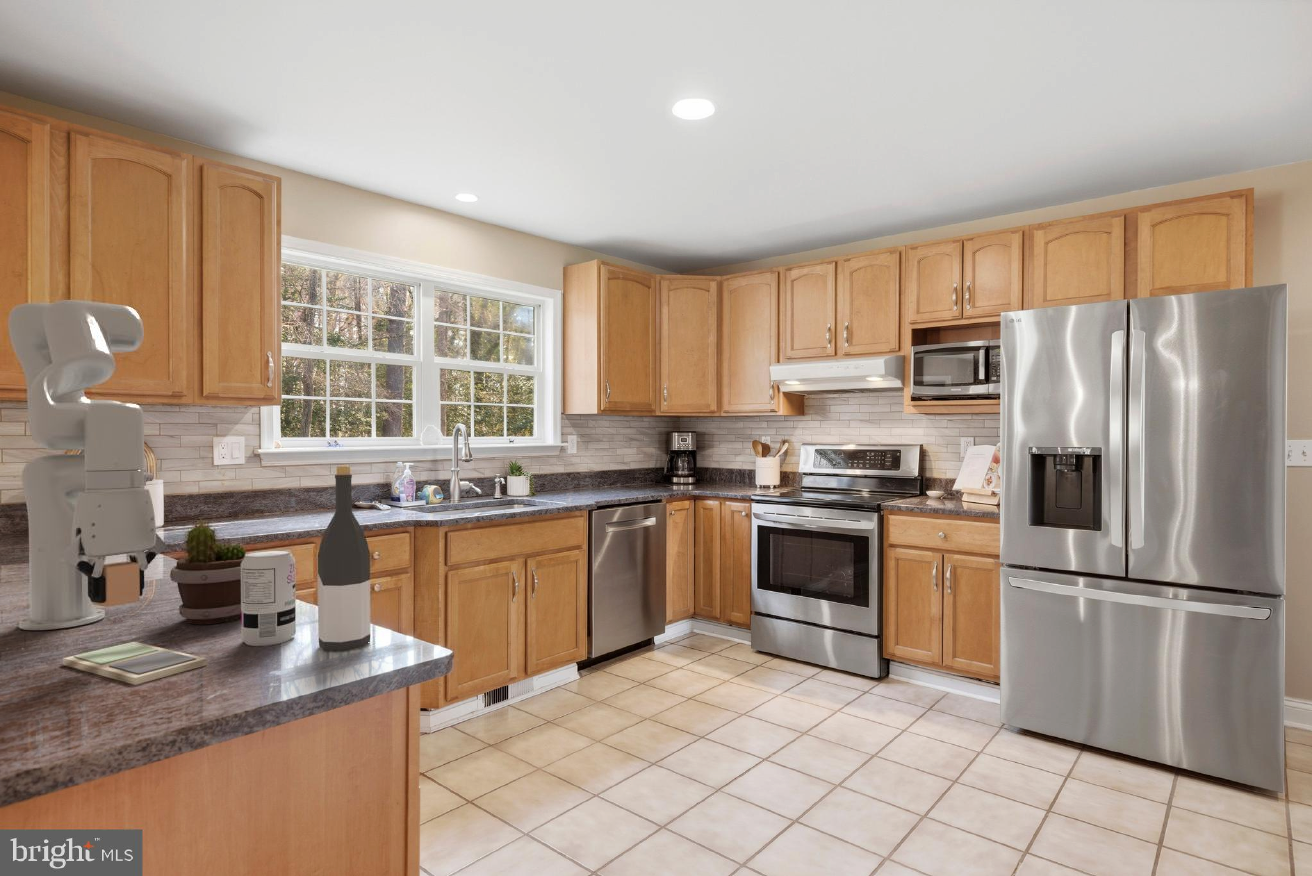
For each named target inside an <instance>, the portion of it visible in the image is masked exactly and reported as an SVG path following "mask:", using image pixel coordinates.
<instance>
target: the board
mask: <svg viewBox="0 0 1312 876" xmlns="http://www.w3.org/2000/svg"><path fill="white" fill-rule="evenodd" d="M207 660H208V659H207V658H206V657H202V656H198V655H197V656H196V655H195V654H194V655H193V654H190V653H189V654H188V653H186V652H181V651H177V650H171V649H167V648H164V647H158V646H154V645H150V644H145V643H141V642H137V641H131V642H127V643H123V644H119V645H115V646H110V647H105V648H101V649H98V650H97V649H96V650H91V651H88V652H83V653H80V654H76V655H71V656H67V657H63V658H62V665H63V666H66V667H70V668H74V669H77V670H79V671H84V672H88V673H90V674H91V673H92V674H96V675H98V676H101V677H106V678H110V679H113V680H116V681H120V682H123V683H126V684H127V683H128V684H130V685H135V686H137V685H140V684H143V683H147V682H148V683H149V682H150V681H154V680H158V679H161V678H165V677H169V676H172V675H173V676H174V675H175V674H180V673H182V672H187V671H189V670H193V669H197V668H201V667H204V666H207V665H208V664H207V663H208V662H207Z"/></svg>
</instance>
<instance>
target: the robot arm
mask: <svg viewBox="0 0 1312 876" xmlns="http://www.w3.org/2000/svg"><path fill="white" fill-rule="evenodd" d="M7 321H8V323H7V325H8V334H9V339H10V343H11V346H12V348H13V351H14V353H15V356H16V359H17V360H18V362H19V364H20V366H21V368H22V370H23V373H24V377H25V381H26V395H27V410H28V413H27V414H28V425H29V426H28V427H29V432H30V436H31V440H32V441H33V442H34V444H35V445H37V446H39V447H41V448H45V449H47V450H49V451H50V450H51V451H84V453H79V454H78V453H74V454H73V453H67V454H66V453H65V454H64V453H63V454H60V453H59V454H49V455H42V456H38V457H36V458H33V459H31V460H29V461H28V462H27V463H26V464H25V465H24V466H23V468H22V472H21V484H22V488H23V494H24V498H25V503H26V509H27V519H28V521H27V522H28V547H29V548H28V549H29V550H28V554H29V555H28V557H29V558H28V559H29V562H28V563H29V565H28V566H29V568H28V569H29V571H28V573H29V616H27V617H24V618H22V619H20V620H19V621H18V628H19V629H20V630H26V631H49V630H59V629H67V628H73V627H79V626H84V625H87V624H92V623H95V622H98V621H100V620H102V619H104V618H105V616H106V612H105V610H104V609H102V608H96V607H95V606H96V605H93V604H92V602H96V603H104V602H105V601H106V582H105V577H104V576H102V570H103V566H104V564H105V561H106V557H110V556H119V555H126V554H127V559H128V562H134V563H139V577H140V597H142V596H143V595H144V594H143V590H144V589H145V571H146V570H147V569H148V568H149V565H150V564H151V563H152V562H153V561H154V560H155V558H156V557H157V556H158V555H159V554H161V553H162V552H163V551H165V549H166V548H167V544H166V542H165V541H163V539H162V538H161V537H160V536H159V534H158V533H157V527H156V516H155V511H154V510H155V509H154V504H153V500H152V497H151V496H152V495H151V493H150V489H149V488H146V486H147V482H152V481H153V480H154V475H153V473H152V472H147V471H146V469H145V421H144V420H145V417H144V411H143V409H142V407H140V405H138V404H135V403H130V402H129V403H127V402H121V401H118V400H111V399H88V398H87V397H86V395H85V390H87V389H90V388H92V387H96V386H99V385H101V384H103V383H105V382H106V381H108V380H109V379H110V378H111V377H112V376H113V375H114V373H115V371H116V360H115V357H114V353H116V354H120V353H130V352H131V353H132V352H134V351H137V350H138V349H139V348H140V346H142V343H143V340H144V337H145V336H144V334H145V331H144V324H143V320H142V318H141V316H140V315H139V313H138V312H137V310H136V309H134V308H132V307H130V306H128V305H123V304H116V303H106V302H98V301H97V302H96V301H89V300H81V299H80V300H78V299H65V300H64V299H63V300H58V301H55V302H53V303H50V302H26V303H25V302H24V303H22V304H18V305H16V306H14V307H13V308H12V309H11V311H10V312H9V316H8V320H7Z"/></svg>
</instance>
